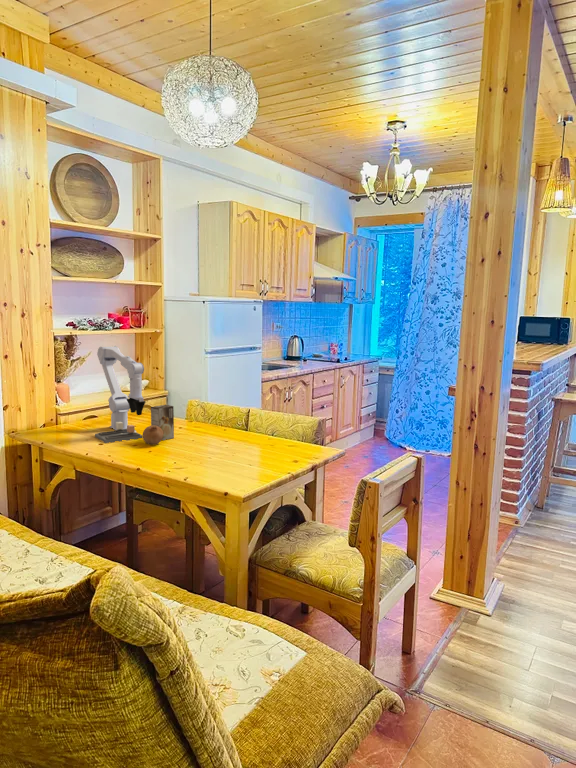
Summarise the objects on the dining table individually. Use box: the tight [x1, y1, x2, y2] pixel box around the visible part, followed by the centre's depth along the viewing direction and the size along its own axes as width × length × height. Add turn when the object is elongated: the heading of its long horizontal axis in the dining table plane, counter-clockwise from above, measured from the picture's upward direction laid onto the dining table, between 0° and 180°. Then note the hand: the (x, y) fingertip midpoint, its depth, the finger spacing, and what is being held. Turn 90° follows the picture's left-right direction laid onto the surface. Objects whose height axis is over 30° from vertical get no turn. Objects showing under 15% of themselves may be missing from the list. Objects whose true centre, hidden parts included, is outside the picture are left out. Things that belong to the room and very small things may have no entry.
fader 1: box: [116, 422, 124, 432], centre depth 264 cm, size 3×2×5 cm
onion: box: [142, 425, 163, 446], centre depth 250 cm, size 10×9×10 cm
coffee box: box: [150, 404, 175, 441], centre depth 260 cm, size 9×6×16 cm
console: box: [94, 429, 143, 444], centre depth 260 cm, size 15×18×3 cm
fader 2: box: [127, 424, 135, 435], centre depth 258 cm, size 3×2×5 cm
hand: (136, 413), depth 270 cm, fingers open, 7 cm apart
